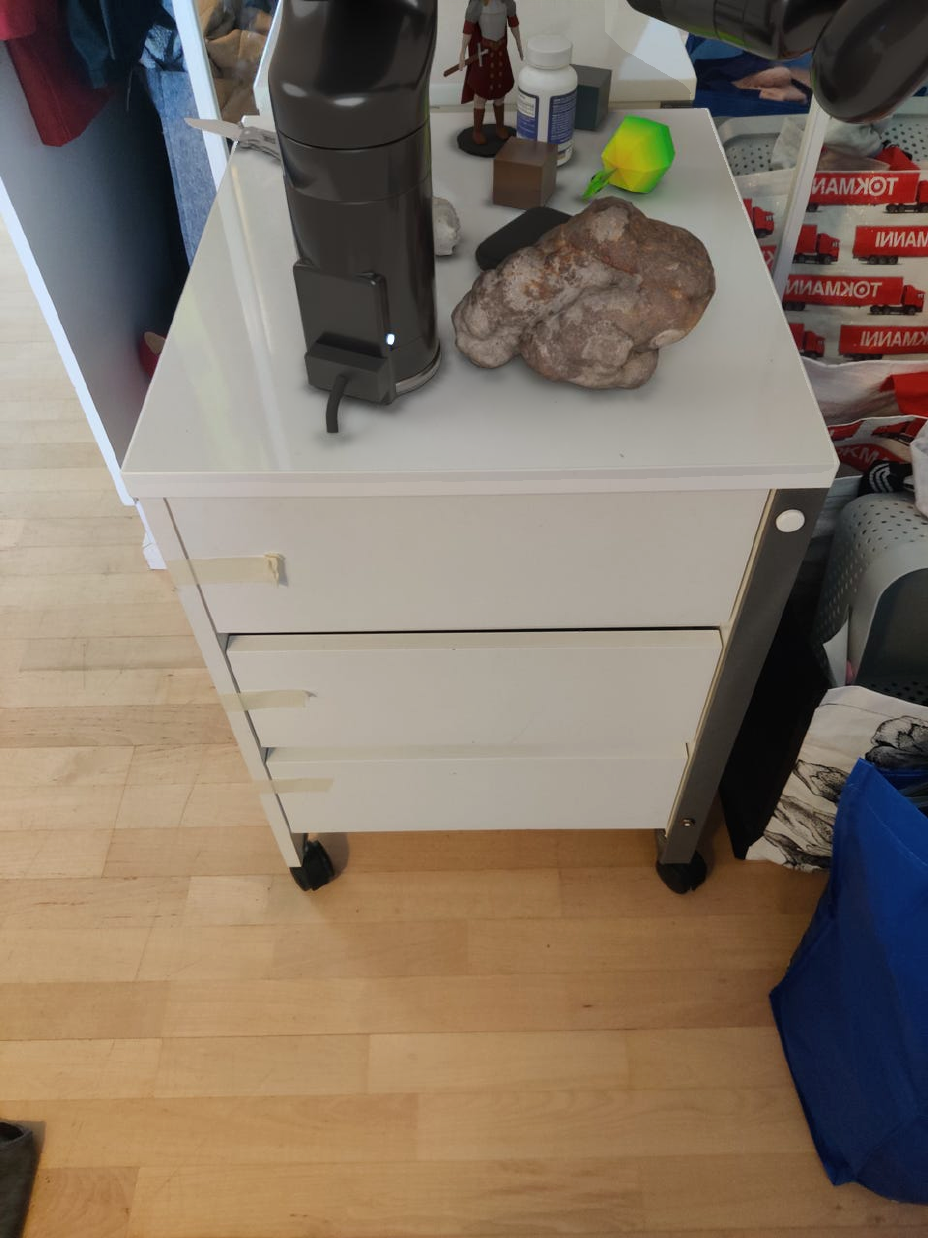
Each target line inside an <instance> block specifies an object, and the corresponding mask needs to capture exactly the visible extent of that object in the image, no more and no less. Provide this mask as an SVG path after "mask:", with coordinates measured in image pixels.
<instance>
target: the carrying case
mask: <svg viewBox="0 0 928 1238" xmlns="http://www.w3.org/2000/svg"><path fill="white" fill-rule="evenodd" d="M572 216H573V215H572V214H570V213H566V212H564V211H562V210H557V209H556V208H552V207H550V206H545V205H544V206H536V207H533V208H531V209H529V210H527V209H526V211H524V212H523V213H522V214H520V215H518V216H517V217H515V218H513V219H512V220H511V221H509V222H508V223H507V224H504V225H503V226H502V227H500V228H499V229H498V230H496V231H495V232H493V233H492V234H490V235H488V237H486V238H485V239H484V241H482V242H480V243H479V245H477V248H476V249H475V252H474V259H475V262H476V265H477V266H478V267H479V269H480V270H482V271H483V272H485V271H487V270H491V269H496V268H497V266H498V265H499V264H500V263H501V262H502V261H503V260H504V259H505V258H506V257H507V256H508V255H509V254H512V253H516V252H517V251H518V250H519V249H520V248H524V247H531V246H533V245H534V244H535V243H536V242H537V241H538V240H539V239H540V237H541V236H542V235H544V234H545V233H547V232H548V231H550V230H551V229H553V228H555V227H557V226H558V225H560V224H566V223H567V222H568V221H569V220H570V219H571V217H572Z"/></svg>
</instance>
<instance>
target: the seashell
mask: <svg viewBox="0 0 928 1238" xmlns="http://www.w3.org/2000/svg"><path fill="white" fill-rule="evenodd" d="M433 212H434V237H435V256H446V255H447V256H450V255H453V247H454V246H457V245H458V244H459V243H460V240H461V235H458V233H457V232H458V231H459V230H460V229H461V228H462V226H461V223H460V217H459V216H458V214H457V212H456V208H455V207H454V206H453V204H452V203H451V202H450V201H449V200H447V199H445V198H442V197H437V196H435V195H433Z"/></svg>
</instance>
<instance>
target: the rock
mask: <svg viewBox="0 0 928 1238" xmlns="http://www.w3.org/2000/svg"><path fill="white" fill-rule="evenodd" d="M716 290H717V279H716V275H715V268H714V265H713V263H712V260H711V257H710V254H709V251H708V249H707V248H706V246H705V244H704V243H703V242H702V240H700V238H698V236H696V235H695V234H694V233H692V232H691V231H689V230H688V229H687V228H684V227H681V226H678V225H673V224H670V223H668V222H665V221H662V220H658V219H654V218H650V217H647V216H646V215H645V213H644V212H642V210H640V209H639V208H638V207H637V206H636V205H635V204H634V203H633V202H632V201H629V200H627V199H624V198H621V197H618V196H613V195H610V196H605V197H601V198H595V199H593V200H592V202H591V203H590V204H589V205H588V206H586V207H585V208H584V209H582V211H581V212H578V213H576V214H574V215H572V217H571V219H570V220H569V221H568V222H567V223H566V224H560V225H558V226H557V227H555V228H553V229H551V230H550V231H548V232H547V233H545V234H544V235H542V236H541V237H540V239H539V240H538V241H537V242H536V243H535V244H534V245H533V246H531V247H524V248H520V249H519V250H518V251H517V252H516V253H512V254H509V255H508V256H507V257H506V258H505V259H504V260H503V261H502V262H501V263H500V264H499V265H498V266H497V268H496V269H491V270H487V271H485V272H484V271H483V272H481V273H480V274H479V275H478V276H477V277H476V278H475V280H474V281H473V283H472V285H471V289H470V290H469V291H467V292H466V293H465V294H464V296H463V297H462V299H461V300H460V301H459V302H458V303H457V304H456V306H455V307H454V308H453V310H452V312H451V315H450V318H451V323H452V326H453V329H454V334H455V341H454V344H455V347H456V348H457V349H458V351H459V352H460V353H461V355H463V356H465V357H467V358H469V360H470V362H471V363H473V364H474V365H475V366H476V367H480V368H486V369H489V370H490V369H494V368H497V367H500V366H502V365H505V364H506V363H507V362H509V361H510V360H511V359H512V358H513V357H514V356H515V355H517V354H521V357H522V358H523V359H524V361H525V362H526V364H527V365H529V367H531V368H532V369H533V370H534V371H535V372H536V373H538V374H539V375H540V376H541V377H542V378H545V379H547V380H550V381H551V382H556V383H563V382H565V381H566V382H569V383H572V384H575V385H579V386H581V387H584V388H587V389H591V390H602V389H604V390H607V391H609V390H611V389H613V388H615V387H618V388H619V387H620V388H625V389H629V390H633V389H638V388H640V387H641V386H643V385H645V383H646V382H647V381H649V380H650V378H652V376H653V374H654V373H655V372H656V370H657V367H658V362H659V357H660V348H663V347H664V346H667V345H671V344H674V343H677V342H679V341H681V340H683V339H684V338H686V337H687V336H689V334H690V333H691V332H692V331H693V330H694V329H695V328H696V326H697V324H698V323H699V321H700V320H701V319H702V317H703V315H704V313H705V311H706V310H707V308H708V306H709V304H710V302H711V300H712V299H713V297H714V294H715V293H716Z"/></svg>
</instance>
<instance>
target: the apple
mask: <svg viewBox="0 0 928 1238" xmlns="http://www.w3.org/2000/svg"><path fill="white" fill-rule="evenodd" d="M600 155H601V159H602V160H601V161H602V163H603V167H604V170H600V171H598V172H596V173H595V174H594V175H593V176H592V177H591V178H590V180H589V183H588V185H587V187H586V190H585V191H584V194H583V196H582V198H581V200H585V199H587V198H590V197H591V196H594V195H596V194H597V193H600V192H601V191H602V190H603V189H604V188H605V187H606V185H607V184H610V185H613V186H616V187H618V188H621V189H623V190H626V191H629V192H634V193H641V194H642V193H643V194H650V192H651V191H652V190H653V189H654V188H655V186H656V185H657V184H658V183H659V181H660V180H661V179H662V177H664V175H665V174H666V173H667V172H668V170H669V169H670V168H671V166H672V164H673V161H674V158H675V156H676V151H675V147H674V142H673V139H672V135H671V131H670V126H669V125H667V124H664V123H661V122H659V121H655V120H652V119H649V118H646V117H641V116H636V115H631V114H627V115H626V116H625V117H624V119H623V121H622V122H621V123H620V125H619V126H618V128H617V129H616V131H615V132H614V133H613V135H612V136H611V138H610V139H609V140H608V142H607V143H606V145H605V147H604V149H603V151H602V153H601V154H600Z"/></svg>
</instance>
